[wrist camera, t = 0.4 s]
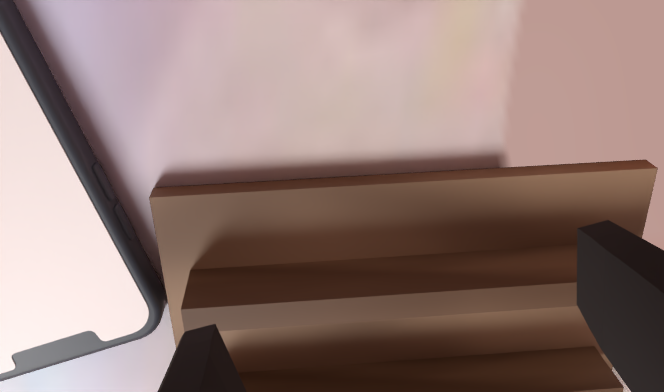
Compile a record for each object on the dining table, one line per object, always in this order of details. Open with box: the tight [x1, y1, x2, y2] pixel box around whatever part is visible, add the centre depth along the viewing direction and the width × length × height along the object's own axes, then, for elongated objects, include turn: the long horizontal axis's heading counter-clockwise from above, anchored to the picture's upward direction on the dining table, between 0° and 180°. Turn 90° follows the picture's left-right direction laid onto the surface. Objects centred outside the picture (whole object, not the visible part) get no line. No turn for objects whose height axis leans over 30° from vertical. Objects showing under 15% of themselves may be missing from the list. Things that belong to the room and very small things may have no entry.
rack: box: [149, 160, 658, 392], centre depth 24 cm, size 17×18×3 cm
